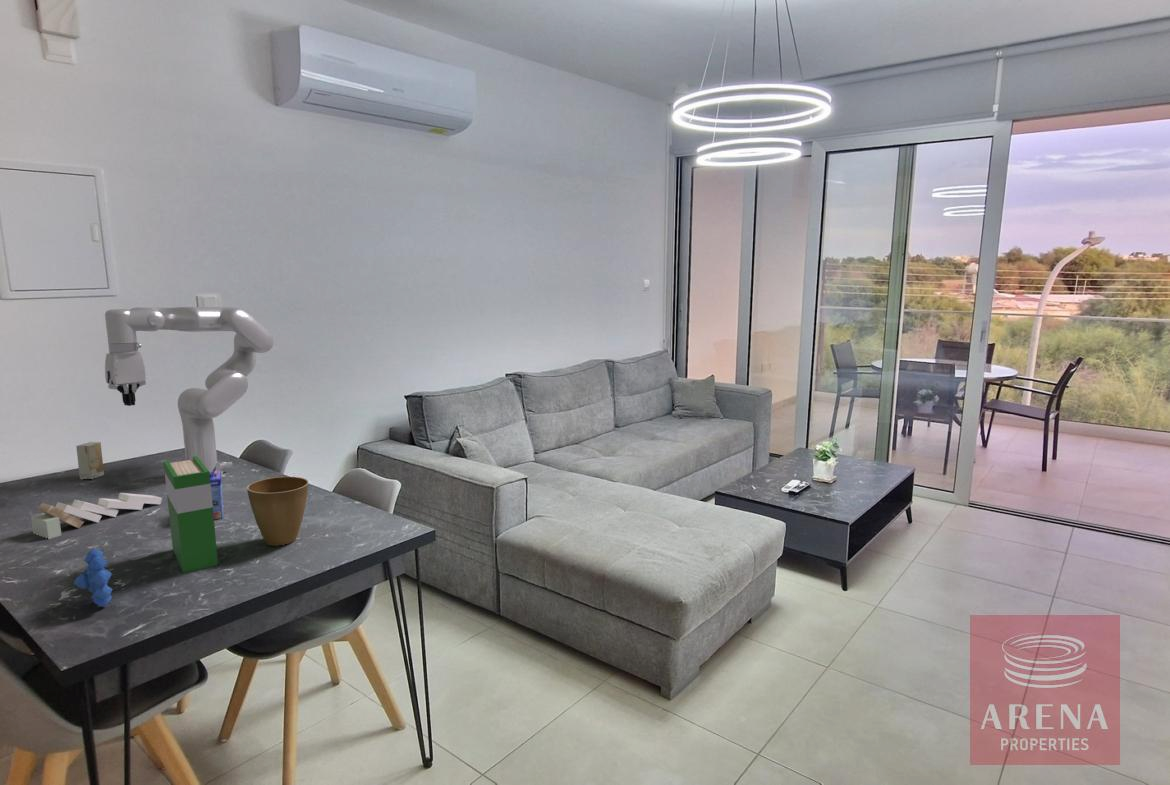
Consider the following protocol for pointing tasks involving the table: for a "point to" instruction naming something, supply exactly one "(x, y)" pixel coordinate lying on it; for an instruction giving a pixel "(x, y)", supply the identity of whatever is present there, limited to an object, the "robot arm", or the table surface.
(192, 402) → the robot arm
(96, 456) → the skincare box
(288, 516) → the plant pot
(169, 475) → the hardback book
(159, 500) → the domino
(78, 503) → the domino
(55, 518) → the block
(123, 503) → the domino
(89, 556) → the grapes
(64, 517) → the domino
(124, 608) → the table surface
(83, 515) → the domino
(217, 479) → the ink cartridge box
